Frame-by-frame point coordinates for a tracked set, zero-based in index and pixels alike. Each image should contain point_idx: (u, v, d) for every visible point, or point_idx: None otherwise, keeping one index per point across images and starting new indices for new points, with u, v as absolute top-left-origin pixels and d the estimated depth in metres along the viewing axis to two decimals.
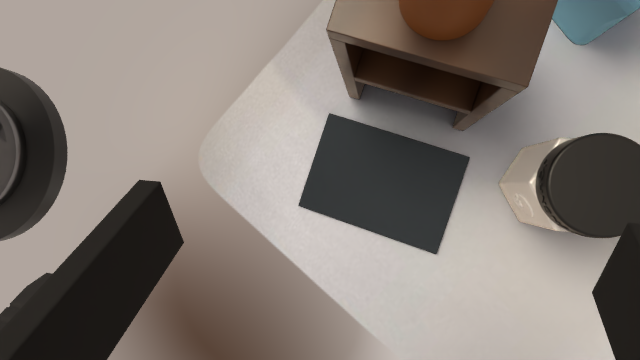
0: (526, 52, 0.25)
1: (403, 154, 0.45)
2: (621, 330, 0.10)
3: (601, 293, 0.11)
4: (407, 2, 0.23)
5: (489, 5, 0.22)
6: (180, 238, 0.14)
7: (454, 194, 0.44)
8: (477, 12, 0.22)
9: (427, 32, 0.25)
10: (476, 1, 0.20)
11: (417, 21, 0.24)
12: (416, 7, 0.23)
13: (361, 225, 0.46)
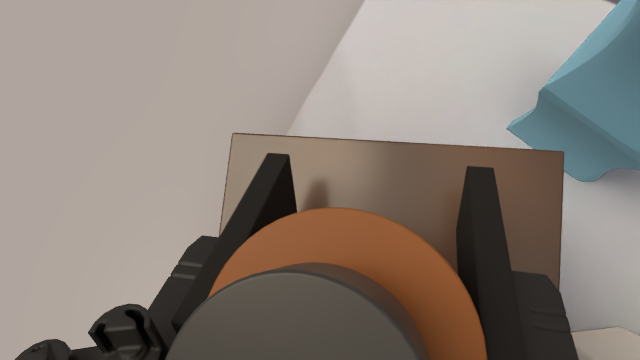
0: None
1: None
2: (460, 252, 0.12)
3: (458, 228, 0.13)
4: None
5: None
6: (296, 210, 0.15)
7: None
8: None
9: None
10: None
11: None
12: None
13: None
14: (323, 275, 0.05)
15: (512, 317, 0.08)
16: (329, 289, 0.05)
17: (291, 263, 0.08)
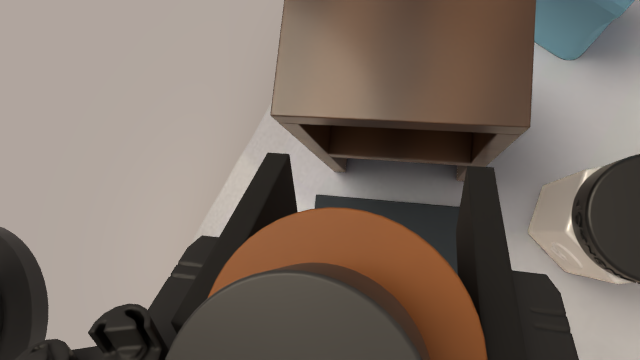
0: (515, 86, 0.20)
1: (409, 222, 0.39)
2: (460, 252, 0.12)
3: (458, 228, 0.13)
4: None
5: None
6: (296, 210, 0.15)
7: None
8: None
9: None
10: None
11: None
12: None
13: None
14: (323, 275, 0.05)
15: (512, 317, 0.08)
16: (329, 289, 0.05)
17: (291, 263, 0.08)
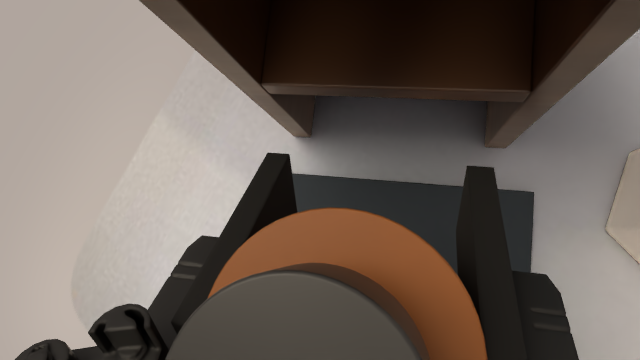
0: None
1: (409, 214, 0.24)
2: (460, 252, 0.12)
3: (458, 229, 0.13)
4: None
5: None
6: (296, 210, 0.15)
7: (526, 268, 0.23)
8: None
9: None
10: None
11: None
12: None
13: None
14: (323, 276, 0.05)
15: (512, 317, 0.08)
16: (329, 290, 0.05)
17: (291, 263, 0.08)
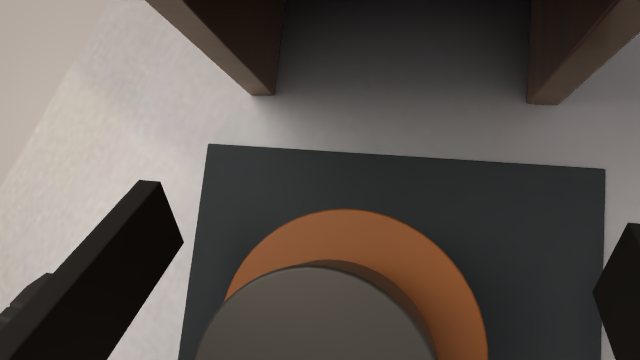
0: None
1: (414, 203, 0.16)
2: (621, 330, 0.10)
3: (601, 293, 0.11)
4: None
5: None
6: (180, 238, 0.14)
7: None
8: None
9: None
10: None
11: None
12: None
13: None
14: (341, 270, 0.06)
15: None
16: (346, 282, 0.06)
17: (305, 260, 0.09)
